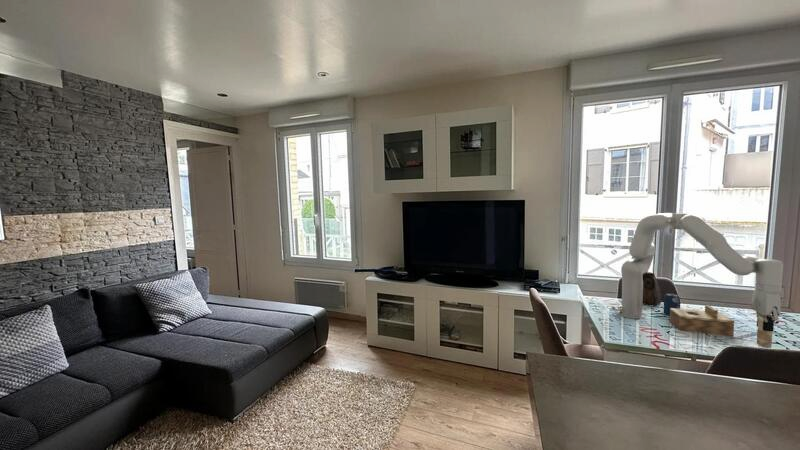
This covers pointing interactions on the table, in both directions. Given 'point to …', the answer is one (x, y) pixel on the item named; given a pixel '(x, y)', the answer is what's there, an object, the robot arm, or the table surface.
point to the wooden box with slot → (702, 325)
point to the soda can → (671, 302)
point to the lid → (702, 314)
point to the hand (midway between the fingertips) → (764, 328)
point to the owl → (651, 289)
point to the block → (763, 333)
